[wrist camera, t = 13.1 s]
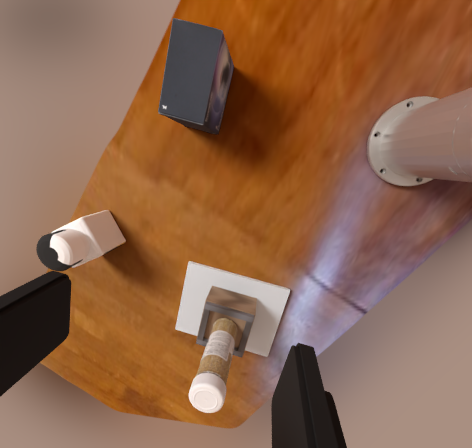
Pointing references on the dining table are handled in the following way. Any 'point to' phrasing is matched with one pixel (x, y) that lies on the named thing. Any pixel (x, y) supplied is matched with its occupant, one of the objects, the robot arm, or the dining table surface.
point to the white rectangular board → (267, 294)
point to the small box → (196, 76)
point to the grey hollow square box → (228, 316)
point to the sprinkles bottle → (214, 368)
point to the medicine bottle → (80, 241)
